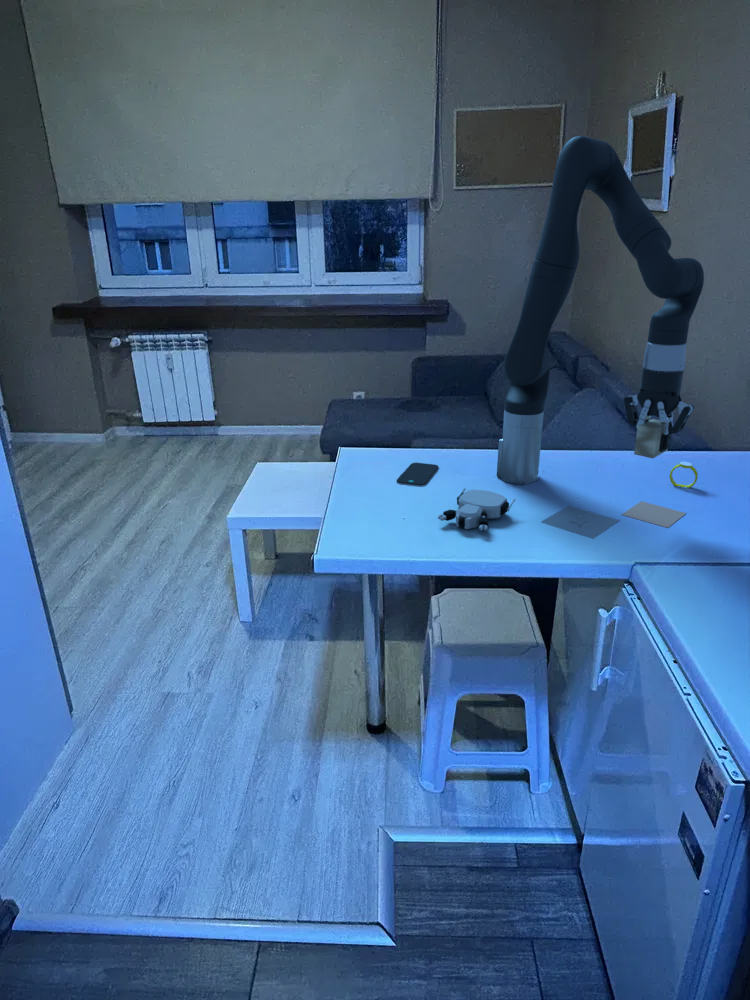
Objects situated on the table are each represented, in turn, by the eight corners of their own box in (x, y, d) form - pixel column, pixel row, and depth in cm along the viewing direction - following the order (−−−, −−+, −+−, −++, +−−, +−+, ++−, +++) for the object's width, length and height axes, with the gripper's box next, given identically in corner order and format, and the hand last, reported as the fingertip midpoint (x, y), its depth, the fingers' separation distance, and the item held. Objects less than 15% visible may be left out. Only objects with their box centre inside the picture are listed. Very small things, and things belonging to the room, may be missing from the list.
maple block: (633, 454, 140) (637, 426, 138) (648, 446, 145) (652, 419, 142) (653, 458, 137) (657, 429, 135) (667, 450, 142) (671, 422, 140)
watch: (695, 488, 163) (701, 464, 160) (693, 491, 161) (699, 468, 158) (668, 481, 166) (674, 459, 163) (666, 485, 163) (672, 462, 161)
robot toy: (487, 543, 138) (516, 513, 149) (487, 523, 136) (517, 494, 147) (434, 529, 144) (465, 501, 155) (433, 510, 142) (465, 483, 153)
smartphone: (394, 481, 167) (412, 461, 180) (394, 484, 167) (412, 465, 180) (424, 484, 164) (440, 464, 177) (424, 488, 164) (440, 468, 177)
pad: (621, 515, 148) (621, 514, 147) (641, 502, 154) (641, 501, 154) (667, 528, 141) (667, 527, 141) (686, 514, 148) (686, 513, 148)
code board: (540, 522, 144) (540, 521, 144) (568, 506, 153) (568, 505, 152) (593, 539, 137) (593, 538, 137) (619, 521, 145) (619, 520, 145)
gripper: (620, 364, 136) (610, 446, 143) (692, 373, 127) (678, 460, 134) (637, 358, 141) (627, 438, 148) (707, 367, 132) (693, 451, 139)
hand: (651, 448), depth 141 cm, fingers closed on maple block, 4 cm apart
